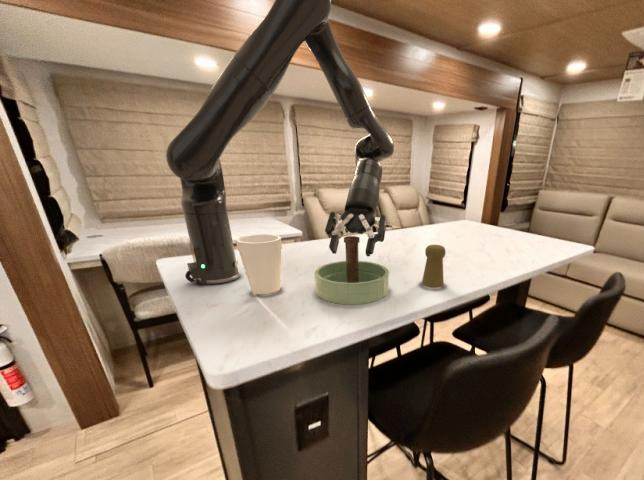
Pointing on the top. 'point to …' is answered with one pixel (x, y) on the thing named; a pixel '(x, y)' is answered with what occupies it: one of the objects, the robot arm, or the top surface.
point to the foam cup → (261, 261)
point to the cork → (434, 266)
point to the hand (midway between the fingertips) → (350, 253)
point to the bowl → (365, 291)
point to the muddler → (352, 259)
